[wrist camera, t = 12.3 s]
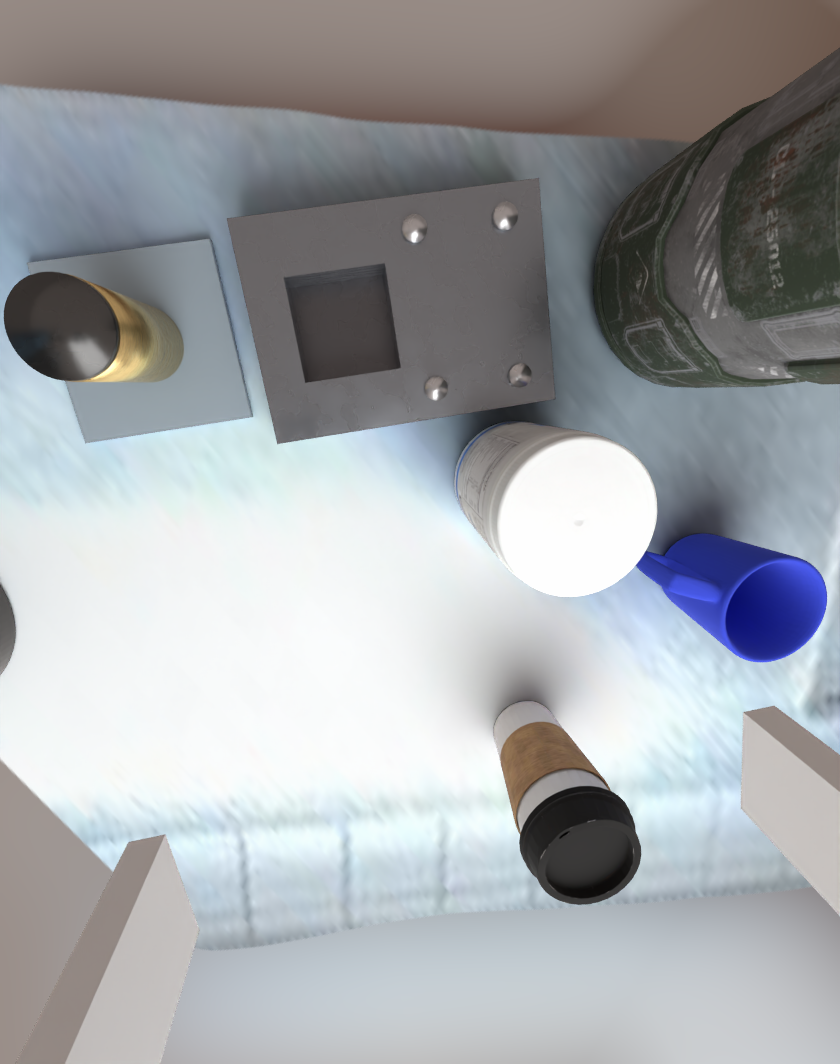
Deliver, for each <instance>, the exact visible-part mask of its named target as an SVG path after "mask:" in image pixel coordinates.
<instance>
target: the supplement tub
mask: <svg viewBox="0 0 840 1064" xmlns="http://www.w3.org/2000/svg"><path fill="white" fill-rule="evenodd" d="M454 487H455V494H456V498H457V501H458V504H459V506H460V508H461V510H462V512H463V513H464V515H465V516H466V518H467V519H468V520H469V522H470V523H471V524H472V525H473V527H474V528H475V529H476V530H477V532H478V533H479V534H480V535H481V537H482V538H483V539H484V540H485V542H486V543H487V544H488V545H489V547H490V548H491V549H492V550H493V552H494V553H495V554H496V555H497V557H498V558H499V559H500V560H501V561H502V563H503V564H504V565H505V566H506V567H507V568H508V569H509V570H510V571H511V573H513V574H514V575H515V576H517V577H518V578H519V579H521V580H522V581H523V582H525V583H526V584H528V585H529V586H531V587H532V588H534V589H536V590H539V591H541V592H544V593H546V594H550V595H554V596H562V597H576V596H584V595H588V594H592V593H595V592H598V591H600V590H603V589H605V588H607V587H609V586H611V585H613V584H614V583H616V582H617V581H619V580H620V579H621V578H623V577H624V576H625V575H626V574H627V573H628V572H630V571H631V570H632V569H633V567H634V566H635V565H636V564H637V563H638V562H639V560H640V559H641V557H642V556H643V555H644V553H645V551H646V549H647V548H648V545H649V543H650V541H651V539H652V536H653V533H654V530H655V525H656V519H657V497H656V492H655V487H654V484H653V482H652V479H651V477H650V474H649V473H648V471H647V469H646V468H645V466H644V465H643V463H642V462H641V461H640V460H639V459H638V458H637V456H635V455H634V454H633V453H632V452H631V451H630V450H628V449H627V448H626V447H624V446H622V445H620V444H618V443H617V442H614V441H612V440H610V439H608V438H605V437H603V436H600V435H597V434H593V433H588V432H584V431H578V430H572V429H565V428H559V427H553V426H547V425H541V424H535V423H529V422H522V421H508V422H502V423H498V424H495V425H493V426H490V427H488V428H486V429H485V430H483V431H481V432H480V433H479V434H477V435H476V436H475V437H474V438H473V439H472V440H471V441H470V442H469V443H468V444H467V446H466V447H465V449H464V450H463V452H462V454H461V456H460V458H459V460H458V463H457V466H456V470H455V479H454Z"/></svg>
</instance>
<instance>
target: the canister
mask: <svg viewBox="0 0 840 1064" xmlns="http://www.w3.org/2000/svg"><path fill="white" fill-rule="evenodd" d="M594 298H595V308H596V313H597V317H598V320H599V324H600V327H601V330H602V333H603V335H604V337H605V338H606V340H607V342H608V344H609V346H610V348H611V350H612V351H613V352H614V353H615V354H616V356H617V357H618V358H619V359H620V360H621V362H622V363H623V364H624V365H625V366H626V367H627V368H629V369H630V370H631V371H632V372H634V373H635V374H636V375H638V376H640V377H642V378H644V379H646V380H648V381H650V382H652V383H655V384H660V385H664V386H669V387H695V388H700V387H760V386H772V385H780V384H789V383H797V382H805V381H808V382H813V383H818V384H840V48H838V49H837V50H836V51H834V52H833V53H831V54H830V55H829V56H827V57H826V58H825V59H823V60H822V61H820V62H819V63H818V64H816V65H815V66H813V67H812V68H811V69H809V70H808V71H806V72H805V73H804V74H802V75H801V76H799V77H798V78H797V79H795V80H794V81H793V82H791V83H790V84H788V85H787V86H786V87H784V88H783V89H781V90H780V91H779V92H777V93H776V94H774V95H773V96H772V97H769V98H767V99H764V100H762V101H759V102H757V103H754V104H752V105H749V106H747V107H744V108H742V109H741V110H739V111H738V112H736V113H735V114H733V115H732V116H731V117H729V118H728V119H726V120H725V121H723V122H722V123H721V124H719V125H718V126H716V127H715V128H714V129H712V130H711V131H710V132H708V133H707V134H706V135H704V136H703V137H702V138H700V139H699V140H698V141H696V142H695V143H693V144H692V145H691V146H689V147H688V148H687V149H685V150H684V151H683V152H681V153H680V154H679V155H677V156H676V157H675V158H673V159H672V160H671V161H669V162H668V163H667V164H665V165H664V166H663V167H661V168H660V169H659V170H657V171H656V172H655V173H653V174H652V175H651V176H649V177H648V178H647V179H646V180H645V181H644V182H643V183H642V184H640V185H639V186H638V187H636V188H635V190H634V191H633V192H632V193H631V194H630V195H629V196H628V197H627V198H626V199H625V200H624V201H623V202H622V204H621V205H620V207H619V208H618V210H617V212H616V213H615V215H614V216H613V218H612V219H611V221H610V222H609V225H608V227H607V229H606V232H605V234H604V236H603V239H602V241H601V243H600V247H599V251H598V255H597V259H596V264H595V276H594Z"/></svg>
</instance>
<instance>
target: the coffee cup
mask: <svg viewBox="0 0 840 1064" xmlns="http://www.w3.org/2000/svg"><path fill="white" fill-rule="evenodd" d="M493 733H494V739H495V743H496V746H497V750H498V754H499V757H500V761H501V766H502V770H503V775H504V779H505V783H506V787H507V791H508V795H509V799H510V803H511V807H512V811H513V815H514V820H515V824H516V827H517V829H518V832H519V834H520V842H519V844H520V852H521V854H522V857H523V860H524V861H525V863H526V865H527V867H528V869H529V870H530V871H531V873H532V874H533V875H534V876H535V877H536V878H537V879H538V881H539V883H540V885H541V886H542V888H543V889H544V890H545V892H547V893H548V894H549V895H550V896H552V897H554V898H555V899H557V900H559V901H562V902H566V903H569V904H578V905H581V904H591V903H596V902H600V901H602V900H605V899H608V898H610V897H611V896H613V895H615V894H617V893H618V892H619V891H621V890H622V889H623V888H624V887H625V886H626V885H627V884H628V883H629V882H630V881H631V880H632V878H633V877H634V875H635V873H636V872H637V869H638V867H639V864H640V859H641V846H640V843H639V839H638V837H637V834H636V832H635V824H634V821H633V818H632V815H631V814H630V811H629V809H628V807H627V805H626V804H625V802H624V801H623V800H622V799H621V798H620V797H619V796H618V795H616V794H615V793H613V792H611V791H610V788H609V786H608V784H607V783H606V781H605V780H604V779H603V777H602V776H601V775H600V774H599V773H598V771H597V770H596V769H595V768H594V766H593V765H592V764H591V763H590V761H589V760H588V759H587V758H586V756H585V755H584V754H583V753H582V751H581V750H580V749H579V748H578V746H577V745H576V744H575V743H574V741H573V740H572V739H571V738H570V736H569V735H568V734H567V733H566V732H565V731H564V729H563V728H562V727H561V725H560V724H559V723H558V721H557V720H556V719H555V717H554V716H553V715H552V713H551V712H550V711H549V710H548V709H547V708H546V707H545V706H543V705H542V704H539V703H537V702H533V701H522V702H517V703H515V704H512V705H510V706H509V707H507V708H506V709H505V710H504V711H502V713H501V714H500V715H499V716H498V718H497V720H496V722H495V725H494V731H493Z"/></svg>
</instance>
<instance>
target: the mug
mask: <svg viewBox="0 0 840 1064" xmlns="http://www.w3.org/2000/svg"><path fill="white" fill-rule="evenodd" d="M636 566H637V567H638V568H639V570H640V571H642V572H643V573H644V574H645V575H647V576H648V577H649V578H651V579H652V580H653V581H655V582H656V583H657V584H659V585H660V586H662V589H663V591H664V592H665V594H666V595H667V597H668V598H669V599H670V600H671V601H672V602H673V603H674V604H675V605H677V606H678V607H679V608H680V609H681V610H683V611H684V612H685V613H686V614H687V615H688V616H690V617H691V618H692V619H693V620H694V621H696V622H697V623H698V624H699V625H700V626H702V627H703V628H704V629H705V630H706V631H708V632H709V633H710V634H711V635H712V636H714V637H715V638H716V639H717V640H718V641H720V642H721V643H722V644H723V645H724V646H726V647H727V648H728V649H729V650H730V651H732V652H733V653H734V654H735V655H737V656H739V657H740V658H743V659H745V660H748V661H753V662H770V661H775V660H778V659H781V658H784V657H786V656H788V655H790V654H792V653H794V652H795V651H797V650H798V649H800V648H801V647H802V646H803V645H804V644H805V643H807V641H808V640H809V639H810V638H811V637H812V636H813V635H814V633H815V632H816V630H817V629H818V627H819V625H820V624H821V621H822V619H823V616H824V614H825V610H826V605H827V591H826V586H825V582H824V580H823V578H822V576H821V574H820V573H819V571H818V570H817V569H816V568H815V567H814V566H813V565H811V564H810V563H808V562H807V561H805V560H803V559H800V558H797V557H794V556H790V555H787V554H783V553H779V552H776V551H772V550H769V549H765V548H761V547H758V546H754V545H750V544H747V543H743V542H740V541H736V540H732V539H729V538H725V537H722V536H718V535H713V534H694V535H690V536H687V537H684V538H682V539H680V540H679V541H677V542H676V543H675V544H674V545H673V546H671V548H670V549H669V550H668V551H667V553H666V554H665V556H662V555H659V554H656V553H652V552H648V551H645V553H644V555H643V556H642V557H641V559H640V560H639V562H638V563H637V564H636Z"/></svg>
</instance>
